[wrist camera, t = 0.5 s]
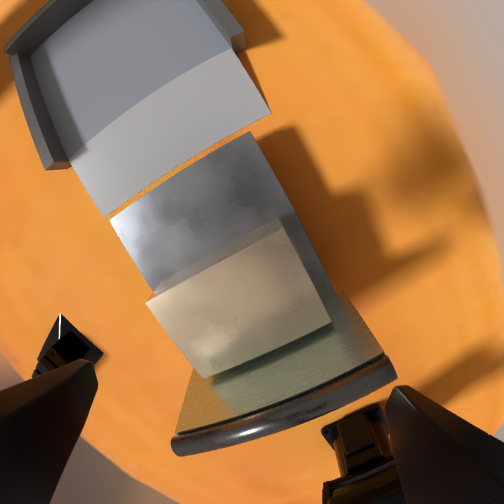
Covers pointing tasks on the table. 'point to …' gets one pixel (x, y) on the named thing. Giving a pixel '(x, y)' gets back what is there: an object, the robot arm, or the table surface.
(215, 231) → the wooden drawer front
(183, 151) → the dock
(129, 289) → the table surface
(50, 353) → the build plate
